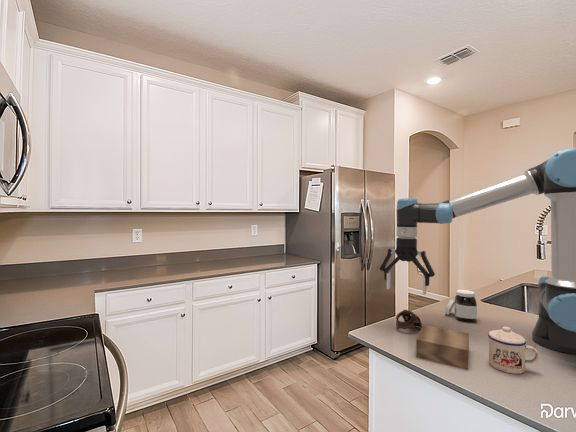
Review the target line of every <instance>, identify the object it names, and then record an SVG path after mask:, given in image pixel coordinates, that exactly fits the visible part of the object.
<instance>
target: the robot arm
mask: <svg viewBox="0 0 576 432" xmlns="http://www.w3.org/2000/svg"><path fill="white" fill-rule="evenodd" d="M532 194H533V195H537V196H540V195H544V196H545V197H546V198H547V199H549V200H550V244H551V245H550V247H551V249H550V251H551V257H550V259H551V261H550V263H551V265H550V267H551V269H550V270H551V275H550V276H541V277H539V279H538V283H537V286H538V318H537V321H536V323H535V325H534V327H533V330H532V331H531V339H532V341H534V343H536V344H537V345H540V346H542V347H544V348H547V349H549V350H553V351H557V352H559V353H560V352H561V353H565V354H571V355H576V147H569V148H564V149H561V150H559V151H557V152H555V153H553V154H552V155H550V157H549V158H547V160H545V161H544V162H542V163H540V164H538V165H536V166H534V167H531V168H528V169H525V170H524V172H523V173H522V174H519V175H517V176H514V177H511V178H508V179H506V180H502V181H499V182H496V183H493V184H490V185H488V186H485V187H482V188H479V189H476V190H474V191H471V192H469V193H468V192H467V193H465V194H462V195H458V196H456V197H453V198H450V199H449V200H448V199H447V200H445V201H442V202H438V203H437V202H435V203H433V202H431V203H430V202H429V203H428V202H427V203H419V201H418V199H417V198H416V197H415V198H414V197H413V198H407V197H406V198H399V199H398V200H396V201H397V203H396V244H395V248H394V249H393V248H392V247H390V248H388V249H387V254H386V256H385V258H384V259H383V262H382V264H381V265H380V267H379V270H380V271H382V272H383V273H384V275H383V276H384V278H383V279H384V281H386V290H390V289H391V285H392V284H391V274H392V273H391V271H390V270H391V269H393V268H394V266H395V265H396V264H397V263H398V262H399V261H401V262H407V263H408V262H409V263H411V262H412V263H413V264H414V266H416V267H417V269H418V270H419V271H420V273H421V274H422V275H423V277H422V296H423V295H424V296H426V294H427V287H429V285H430V278H433V277H434V276H436V274H435V271H434V268H433V267H432V265H431V263H430V261H429V259H428V258H427V251H426V250H422V251H418V239H417V237H418V224H440V225H442V224H443V225H444V224H451V223H452V222H453V219H455V218H459V217H462V216H466V215H468V214H470V213H474V212H477V211H480V210H484V209H487V208H491V207H493V206H497V205H500V204H503V203H506V202H509V201H513V200H516V199H519V198H523V197H525V196H529V195H532ZM394 254H396V257H395V258H394V259H393V260H392V261H391V262H390V264H389V265H388V263H389V261H390V260H391V257H392V256H393V255H394ZM418 255H419V257H420V258H421V260H422V262H423V263H424V265H423V264H421V262H420V261H419V260H418V258H417V256H418ZM387 265H388V266H387ZM424 266H425V267H426V268H425V267H424Z"/></svg>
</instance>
